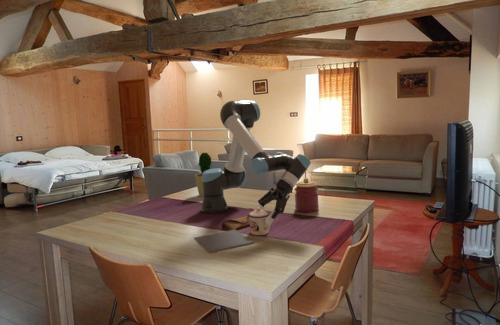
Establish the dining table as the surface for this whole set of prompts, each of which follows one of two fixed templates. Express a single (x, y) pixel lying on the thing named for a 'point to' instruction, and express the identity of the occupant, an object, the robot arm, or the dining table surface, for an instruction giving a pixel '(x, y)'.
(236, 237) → the charcoal mat
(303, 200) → the canister
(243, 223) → the sunglasses case
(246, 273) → the dining table surface
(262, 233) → the teacup with lid
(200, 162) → the potted cactus
